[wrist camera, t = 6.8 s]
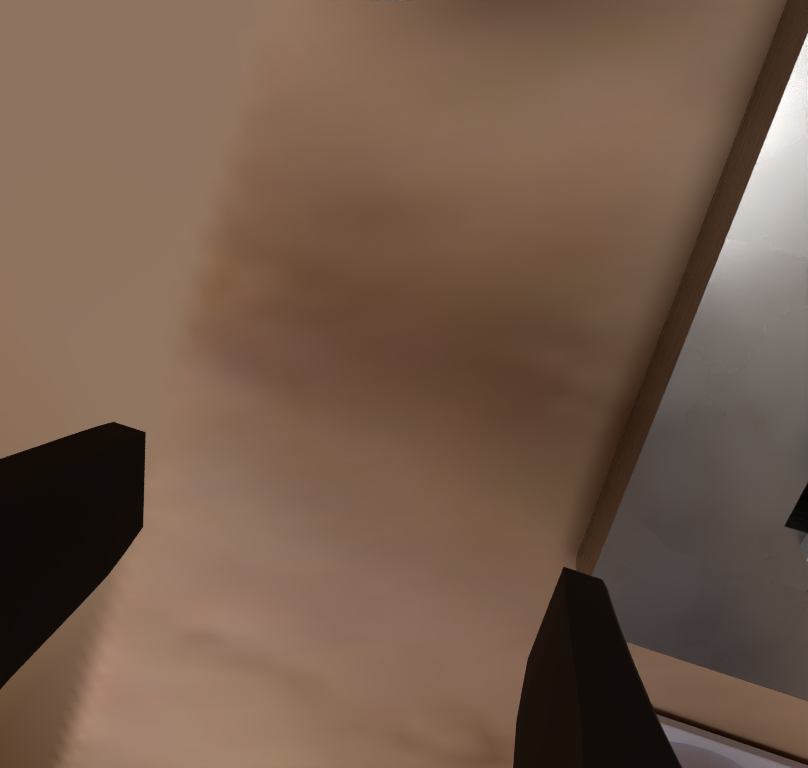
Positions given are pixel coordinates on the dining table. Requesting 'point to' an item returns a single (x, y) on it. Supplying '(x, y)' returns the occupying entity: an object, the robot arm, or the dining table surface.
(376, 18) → the dining table surface
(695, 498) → the chassis
